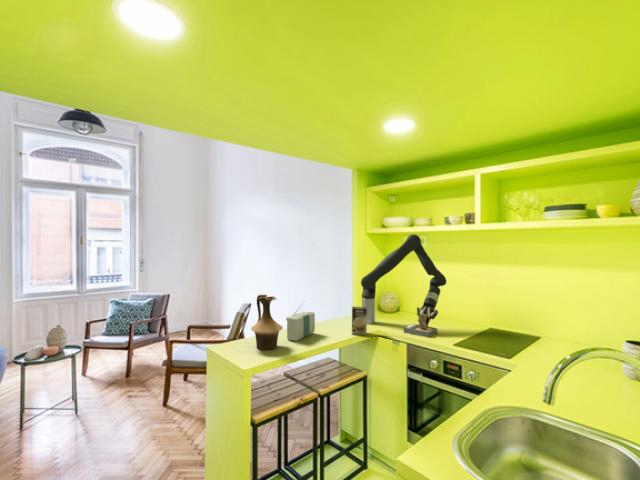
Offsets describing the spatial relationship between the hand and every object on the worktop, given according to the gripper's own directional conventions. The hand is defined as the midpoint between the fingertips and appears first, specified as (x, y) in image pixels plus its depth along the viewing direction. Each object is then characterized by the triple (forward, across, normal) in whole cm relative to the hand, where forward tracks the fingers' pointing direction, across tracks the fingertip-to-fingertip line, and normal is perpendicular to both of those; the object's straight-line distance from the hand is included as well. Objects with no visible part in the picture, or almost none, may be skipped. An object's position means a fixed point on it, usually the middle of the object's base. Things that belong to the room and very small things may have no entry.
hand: (423, 322), depth 197 cm
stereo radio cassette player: (+44, -51, -34) cm, 75 cm away
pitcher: (+63, -50, -52) cm, 96 cm away
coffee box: (+24, -29, -14) cm, 40 cm away
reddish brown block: (+2, 0, +4) cm, 4 cm away
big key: (+4, 0, +5) cm, 6 cm away
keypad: (+4, -2, +6) cm, 7 cm away
